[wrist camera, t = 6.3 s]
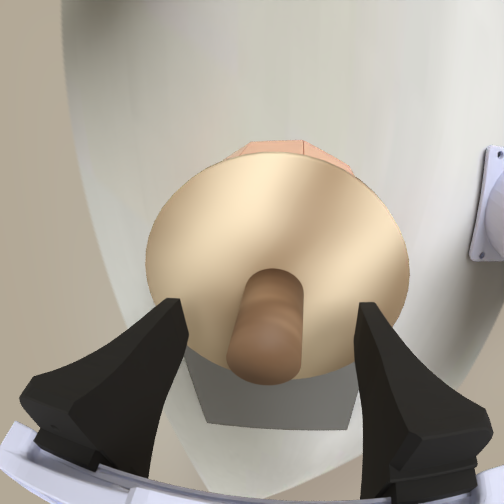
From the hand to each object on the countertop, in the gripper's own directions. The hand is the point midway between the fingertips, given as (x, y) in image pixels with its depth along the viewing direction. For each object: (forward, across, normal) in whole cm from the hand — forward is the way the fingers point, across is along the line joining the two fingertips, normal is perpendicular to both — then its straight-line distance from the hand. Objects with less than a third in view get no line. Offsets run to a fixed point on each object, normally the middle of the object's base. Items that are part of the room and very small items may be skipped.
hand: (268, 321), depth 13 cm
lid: (+3, 0, +1) cm, 4 cm away
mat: (+8, +1, +15) cm, 17 cm away
